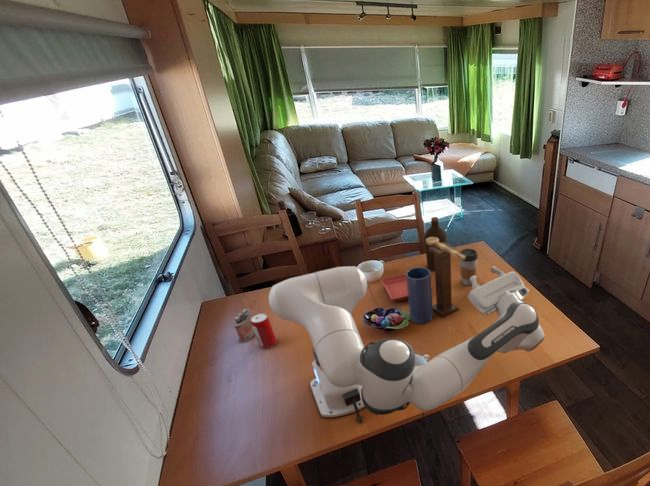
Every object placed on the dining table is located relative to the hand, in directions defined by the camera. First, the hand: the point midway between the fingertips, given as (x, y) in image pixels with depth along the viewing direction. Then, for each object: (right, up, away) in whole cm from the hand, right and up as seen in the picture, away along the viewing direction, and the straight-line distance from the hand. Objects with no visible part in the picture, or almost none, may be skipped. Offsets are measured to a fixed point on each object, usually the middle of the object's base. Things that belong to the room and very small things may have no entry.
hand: (482, 272), depth 127 cm
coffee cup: (-4, -3, +47) cm, 47 cm away
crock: (-23, -17, +24) cm, 38 cm away
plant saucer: (-32, -7, +41) cm, 52 cm away
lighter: (-86, -23, +15) cm, 91 cm away
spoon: (-13, +9, +13) cm, 21 cm away
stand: (-14, -14, +29) cm, 35 cm away
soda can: (-77, -26, +11) cm, 82 cm away
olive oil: (-20, +5, +59) cm, 63 cm away
